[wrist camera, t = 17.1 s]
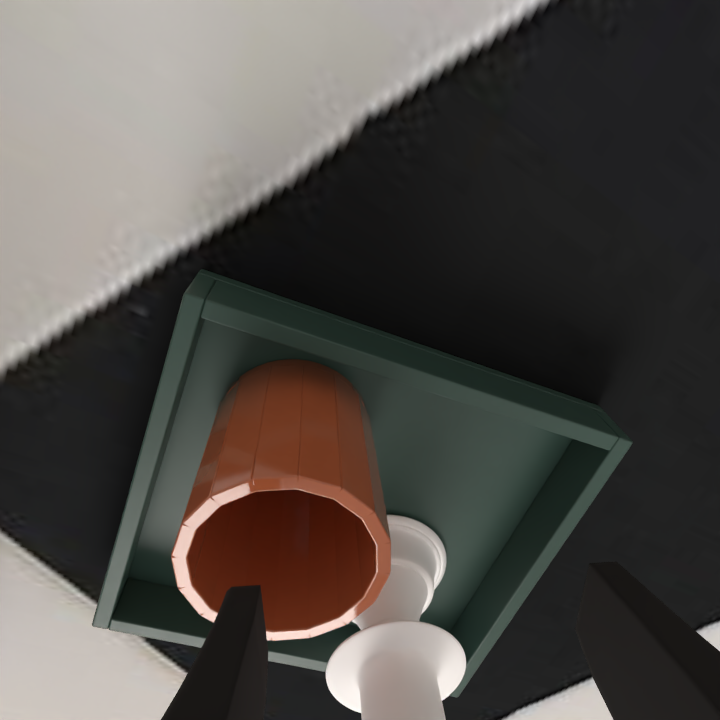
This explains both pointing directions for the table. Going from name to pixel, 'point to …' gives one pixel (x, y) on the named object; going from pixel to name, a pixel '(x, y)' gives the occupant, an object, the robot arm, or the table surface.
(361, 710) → the candle
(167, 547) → the tray
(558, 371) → the table surface
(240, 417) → the cup
